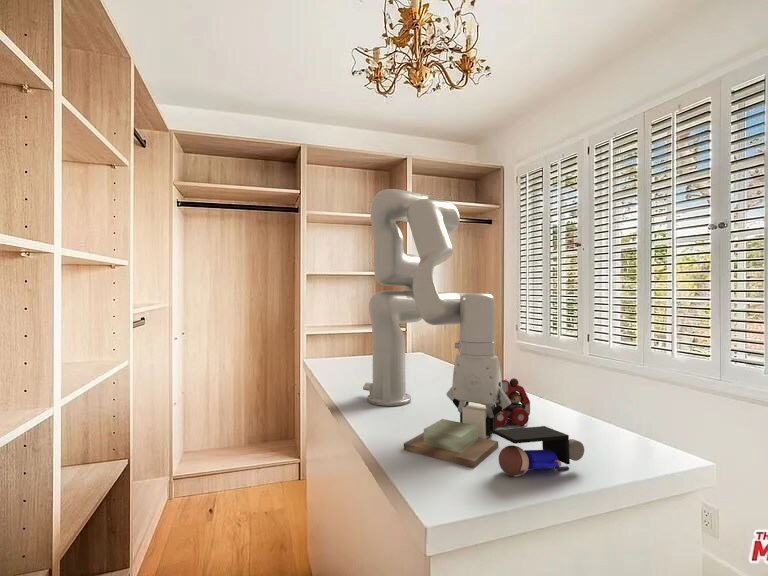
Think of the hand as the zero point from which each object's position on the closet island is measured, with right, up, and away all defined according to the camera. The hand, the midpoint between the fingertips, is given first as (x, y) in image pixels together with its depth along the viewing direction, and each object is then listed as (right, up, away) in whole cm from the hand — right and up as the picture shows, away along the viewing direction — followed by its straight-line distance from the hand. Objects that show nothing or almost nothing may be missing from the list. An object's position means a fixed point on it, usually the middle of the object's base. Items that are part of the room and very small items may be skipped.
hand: (477, 431), depth 92 cm
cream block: (0, -1, 0) cm, 1 cm away
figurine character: (+6, -1, -18) cm, 20 cm away
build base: (-7, -1, -8) cm, 11 cm away
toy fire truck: (+9, -1, +9) cm, 12 cm away
